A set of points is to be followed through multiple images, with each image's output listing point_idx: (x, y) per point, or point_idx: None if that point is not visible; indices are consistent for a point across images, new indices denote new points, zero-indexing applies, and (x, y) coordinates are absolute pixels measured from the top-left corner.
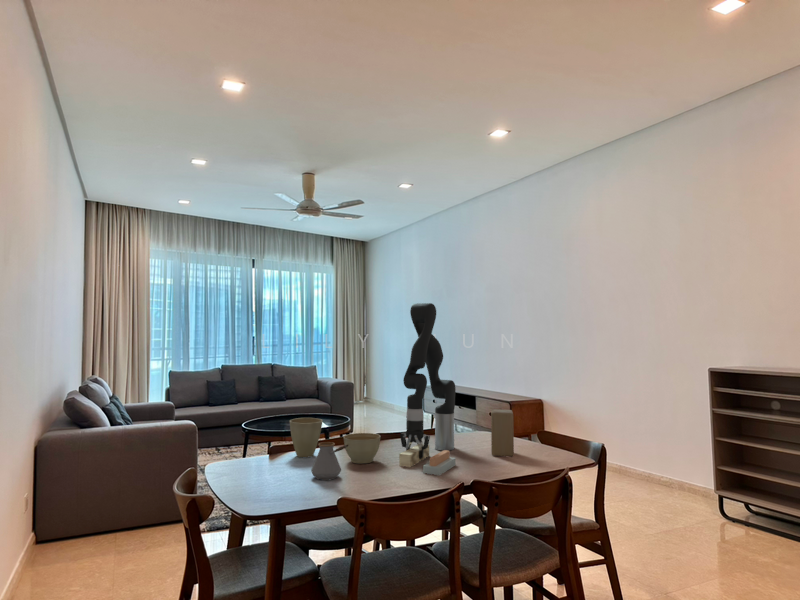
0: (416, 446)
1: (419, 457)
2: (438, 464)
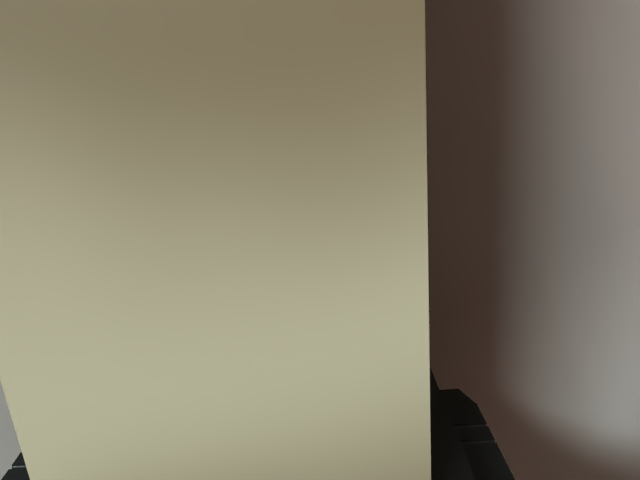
0: (34, 179)
1: None
2: None
